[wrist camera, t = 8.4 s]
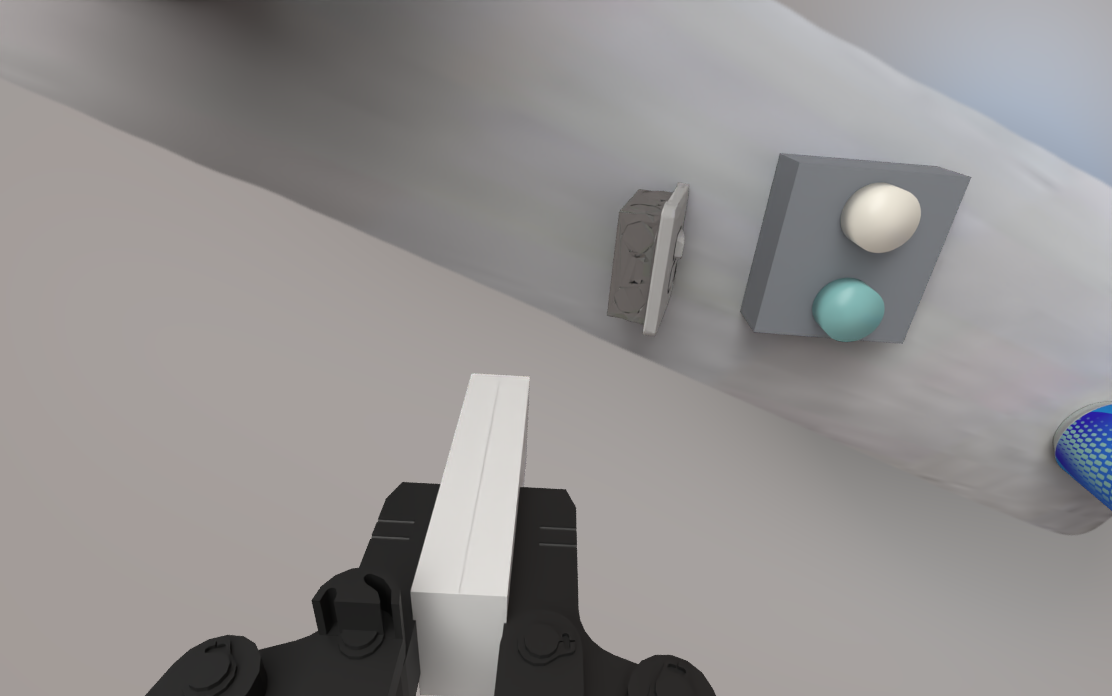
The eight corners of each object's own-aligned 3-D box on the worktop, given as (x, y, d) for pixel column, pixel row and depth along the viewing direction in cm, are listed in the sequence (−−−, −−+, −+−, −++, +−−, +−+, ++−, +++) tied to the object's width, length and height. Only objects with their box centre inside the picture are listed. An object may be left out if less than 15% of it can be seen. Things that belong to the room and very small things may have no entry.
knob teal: (804, 259, 45) (833, 285, 40) (858, 264, 45) (893, 289, 40) (789, 309, 47) (815, 339, 42) (841, 314, 47) (872, 344, 43)
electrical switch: (670, 293, 48) (678, 343, 40) (609, 287, 48) (605, 335, 40) (689, 181, 43) (704, 210, 35) (622, 174, 44) (621, 202, 36)
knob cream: (830, 170, 42) (865, 186, 37) (889, 175, 42) (931, 191, 37) (813, 228, 44) (844, 250, 39) (869, 232, 44) (906, 255, 39)
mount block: (780, 153, 42) (799, 162, 39) (937, 166, 42) (971, 177, 39) (740, 311, 48) (753, 332, 45) (878, 322, 49) (902, 343, 45)
